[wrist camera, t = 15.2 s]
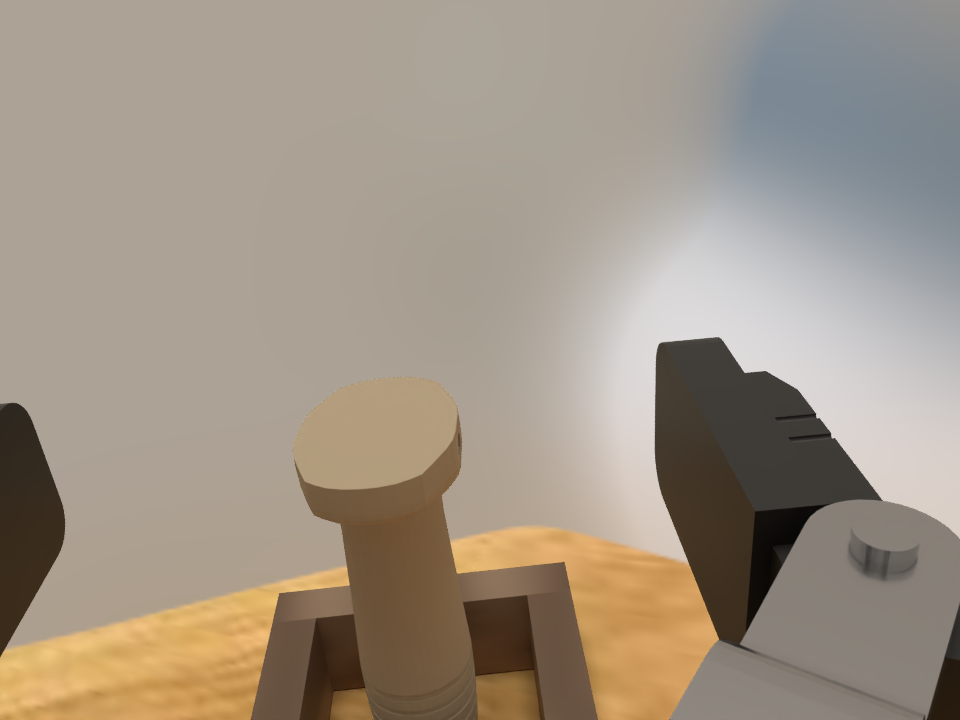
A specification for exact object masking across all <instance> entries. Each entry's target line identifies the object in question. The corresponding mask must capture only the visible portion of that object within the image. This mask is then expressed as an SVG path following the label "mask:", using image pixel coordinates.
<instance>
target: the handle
mask: <svg viewBox="0 0 960 720" xmlns="http://www.w3.org/2000/svg"><path fill="white" fill-rule="evenodd" d="M461 450H462V438H461V428H460V421H459V415H458V409H457V405H456V403H455V401H454V400H453V398H452V397H451V396H450V395H449V393H448V392H447V391H446V390H445V389H444V388H443V387H442V386H441V385H440V384H439V383H438V382H436V381H432V380H429V379H423V378H413V377H396V378H395V377H394V378H382V379H374V380H369V381H363V382H359V383H356V384H352V385H349V386H346V387H343V388H340V389H339V390H337V391H336V392H335V393H333V394H332V395H331V396H330V397H328V398H327V399H326V400H324V401H323V402H322V403H321V404H319V405H318V406H317V407H316V408H315V409H314V410H313V411H312V412H310V413H309V415H307V417H306V418H305V420H304V422H303V423H302V425H301V428H300V430H299V433H298V435H297V437H296V439H295V442H294V446H293V455H294V461H295V466H296V470H297V474H298V478H299V481H300V485H301V488H302V490H303V493H304V496H305V498H306V501H307V503H308V505H309V507H310V509H311V511H312V512H313V514H314V515H315V516H317V517H320V518H322V519H325V520H329V521H332V522H335V523H339V524H341V528H342V534H343V542H344V548H345V555H346V562H347V569H348V576H349V583H350V590H351V597H352V605H353V612H354V620H355V627H356V635H357V642H358V650H359V657H360V665H361V669H362V675H363V679H364V683H365V688H366V692H367V696H368V700H369V704H370V707H371V710H372V714H373V717H374V720H477V693H476V677H475V667H474V660H473V651H472V644H471V638H470V633H469V628H468V624H467V619H466V615H465V610H464V605H463V601H462V596H461V591H460V587H459V582H458V578H457V573H456V568H455V563H454V558H453V554H452V549H451V544H450V539H449V534H448V529H447V525H446V519H445V514H444V509H443V502H442V494H443V493H444V492H445V491H446V490H447V489H448V488H449V487H450V486H451V485H452V483H453V482H454V481H455V479H456V478H457V476H458V474H459V471H460V468H461Z"/></svg>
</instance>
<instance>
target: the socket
mask: <svg viewBox="0 0 960 720" xmlns="http://www.w3.org/2000/svg"><path fill="white" fill-rule="evenodd" d="M457 578H458V582H459V587H460V591H461V596H462V601H463V605H464V610H465V615H466V619H467V624H468V628H469V633H470V638H471V644H472V651H473V660H474V667H475V675H480V674H489V673H498V672H507V671H516V670H525V669H534V673H535V680H536V687H537V694H538V702H539V709H540V716H541V720H598V719H597V714H596V709H595V704H594V700H593V695H592V690H591V685H590V681H589V676H588V671H587V666H586V662H585V657H584V652H583V648H582V643H581V638H580V633H579V629H578V624H577V619H576V614H575V610H574V605H573V600H572V596H571V591H570V586H569V581H568V577H567V572H566V567H565V562H561V563H552V564H543V565H534V566H524V567H515V568H506V569H497V570H488V571H479V572H470V573H461V574H457ZM362 687H365V683H364V679H363V675H362V669H361V665H360V657H359V650H358V642H357V635H356V627H355V620H354V612H353V605H352V597H351V590H350V586H342V587H333V588H324V589H315V590H306V591H297V592H287V593H279V597H278V601H277V606H276V610H275V615H274V619H273V624H272V628H271V632H270V637H269V641H268V646H267V650H266V655H265V659H264V663H263V668H262V672H261V677H260V681H259V686H258V690H257V695H256V699H255V703H254V708H253V712H252V717H251V720H329V718H330V710H331V703H332V695H333V691H335V690H344V689H353V688H362Z"/></svg>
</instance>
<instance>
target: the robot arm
mask: <svg viewBox="0 0 960 720" xmlns="http://www.w3.org/2000/svg"><path fill="white" fill-rule="evenodd" d="M655 461H656V469H657V476H658V481H659V486H660V490H661V493H662V496H663V499H664V501H665V504H666V507H667V509H668V512H669V514H670V517H671V519H672V522H673V524H674V527H675V529H676V532H677V534H678V537H679V539H680V542H681V544H682V547H683V549H684V552H685V554H686V557H687V560H688V562H689V565H690V567H691V570H692V572H693V575H694V577H695V580H696V582H697V585H698V587H699V590H700V592H701V595H702V597H703V600H704V602H705V605H706V607H707V610H708V612H709V615H710V617H711V620H712V622H713V625H714V627H715V630H716V632H717V635H718V637H719V640H718V641H717V642H716V643H715V644H714V645H713V646H712V648H711V649H710V650H709V652H708V653H707V655H706V657H705V658H704V660H703V662H702V663H701V665H700V667H699V669H698V670H697V672H696V674H695V676H694V677H693V679H692V681H691V683H690V684H689V686H688V688H687V690H686V691H685V693H684V695H683V697H682V698H681V700H680V702H679V703H678V705H677V707H676V709H675V710H674V712H673V714H672V716H671V717H670V719H669V720H960V539H959V538H958V537H957V535H956V534H954V533H953V532H952V531H951V530H950V529H949V528H948V527H946V526H945V525H944V524H942V523H941V522H939V521H938V520H936V519H934V518H932V517H931V516H929V515H927V514H925V513H922V512H920V511H918V510H915V509H912V508H909V507H906V506H903V505H899V504H895V503H891V502H885V501H883V500H881V498H880V497H879V495H878V494H877V493H876V492H875V490H874V489H873V487H872V486H871V485H870V484H869V482H868V481H867V480H866V478H865V477H864V476H863V474H862V473H861V472H860V470H859V469H858V468H857V466H856V465H855V464H854V463H853V461H852V460H851V459H850V457H849V456H848V455H847V454H846V452H845V451H844V450H843V448H842V447H841V446H840V444H839V443H838V442H837V440H836V439H835V438H834V439H832V438H831V433H830V431H829V430H828V429H827V427H826V426H825V425H824V423H823V422H822V421H821V420H820V418H818V419H817V418H816V413H815V412H814V410H813V409H812V408H811V406H810V405H809V404H808V402H807V401H806V400H805V399H804V397H803V396H802V395H801V393H800V392H799V391H798V390H797V389H795V388H794V387H792V386H790V385H789V384H787V383H785V382H783V381H782V380H780V379H778V378H777V377H775V376H773V375H771V374H770V373H768V372H766V371H763V372H751V373H744V372H743V370H742V369H741V367H740V366H739V364H738V363H737V361H736V360H735V358H734V357H733V355H732V354H731V352H730V351H729V349H728V348H727V346H726V345H725V343H724V342H723V341H722V339H720V338H719V337H718V338H717V337H715V338H705V339H694V340H684V341H674V342H663V343H660V344H659V346H658V349H657V355H656V395H655ZM64 517H65V516H64V510H63V505H62V502H61V499H60V496H59V494H58V491H57V488H56V485H55V483H54V480H53V477H52V474H51V472H50V469H49V466H48V464H47V461H46V458H45V455H44V453H43V450H42V447H41V444H40V441H39V439H38V436H37V433H36V430H35V428H34V425H33V422H32V420H31V418H30V416H29V414H28V412H27V411H26V410H25V409H24V408H23V407H22V406H21V405H19V404H17V403H7V404H0V657H1V655H2V653H3V651H4V649H5V648H6V646H7V644H8V642H9V641H10V639H11V637H12V635H13V633H14V632H15V630H16V628H17V627H18V625H19V623H20V621H21V620H22V618H23V616H24V614H25V612H26V611H27V609H28V607H29V606H30V604H31V602H32V600H33V599H34V597H35V595H36V593H37V592H38V590H39V588H40V586H41V585H42V583H43V581H44V579H45V577H46V576H47V574H48V572H49V571H50V569H51V567H52V565H53V563H54V562H55V560H56V558H57V557H58V555H59V553H60V551H61V547H62V545H63V540H64V534H65V518H64Z"/></svg>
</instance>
